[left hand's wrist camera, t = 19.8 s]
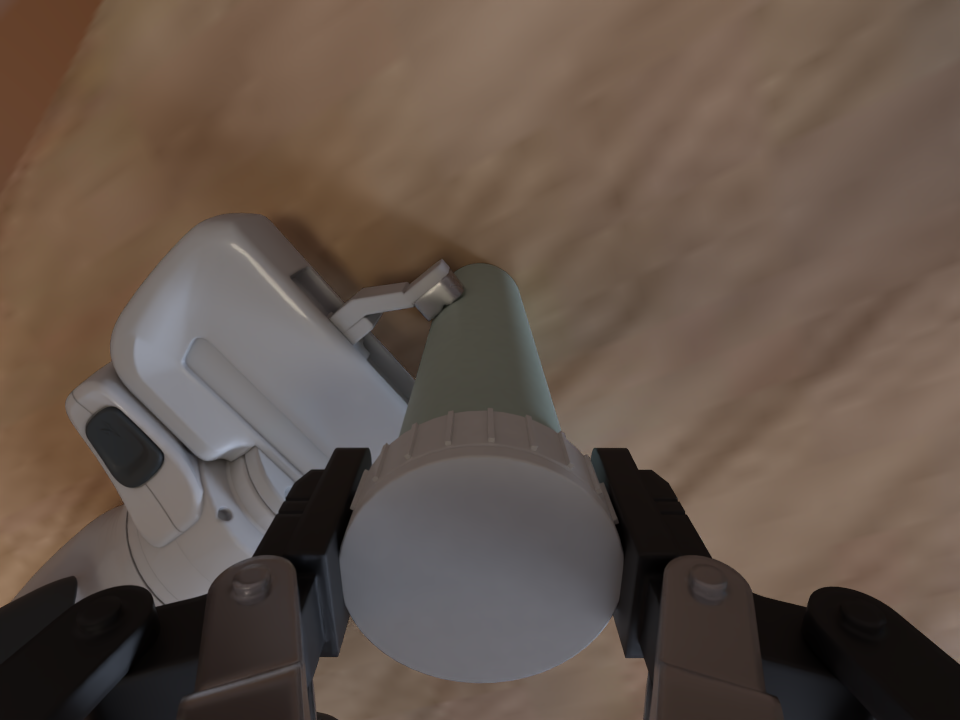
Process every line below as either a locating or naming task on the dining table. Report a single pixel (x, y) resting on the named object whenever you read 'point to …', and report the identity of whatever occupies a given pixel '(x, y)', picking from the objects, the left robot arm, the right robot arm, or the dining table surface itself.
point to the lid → (481, 549)
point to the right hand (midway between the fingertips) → (496, 327)
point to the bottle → (481, 355)
